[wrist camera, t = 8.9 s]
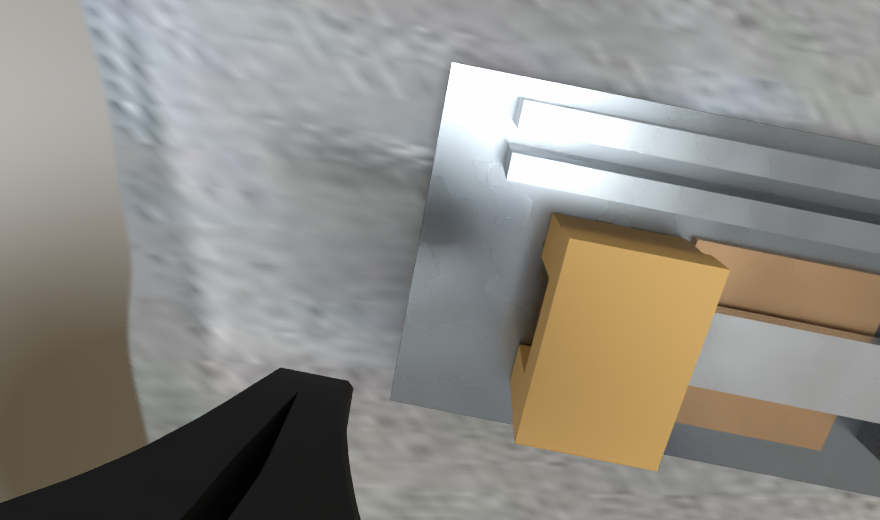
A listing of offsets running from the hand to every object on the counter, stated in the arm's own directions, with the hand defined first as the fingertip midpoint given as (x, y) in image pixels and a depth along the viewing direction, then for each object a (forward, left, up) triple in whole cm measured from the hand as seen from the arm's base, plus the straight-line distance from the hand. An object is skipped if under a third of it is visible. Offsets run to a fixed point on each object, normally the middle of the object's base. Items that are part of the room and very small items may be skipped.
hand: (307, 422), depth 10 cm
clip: (0, -7, -8) cm, 11 cm away
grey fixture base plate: (+1, -11, -10) cm, 15 cm away
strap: (0, -12, -8) cm, 14 cm away
